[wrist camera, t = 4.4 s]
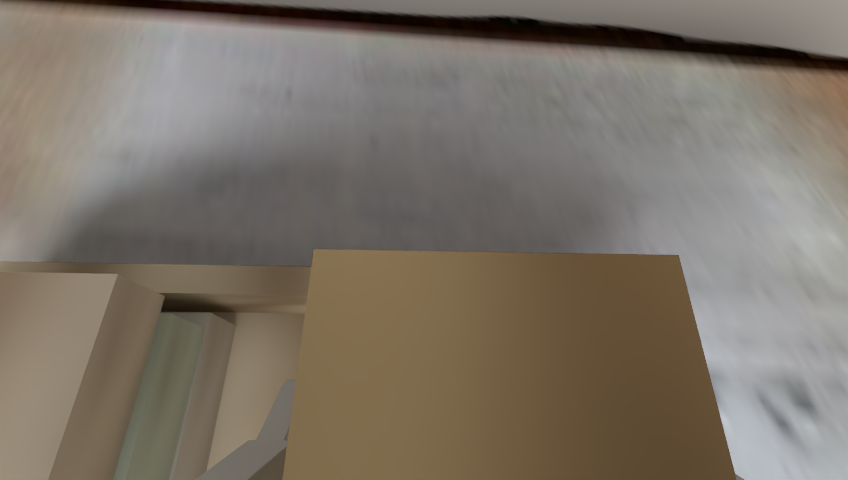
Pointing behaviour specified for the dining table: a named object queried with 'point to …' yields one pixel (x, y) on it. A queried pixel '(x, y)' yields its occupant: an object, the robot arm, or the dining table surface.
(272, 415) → the robot arm
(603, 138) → the dining table surface
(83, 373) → the offcut stack
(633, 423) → the oak post
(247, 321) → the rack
